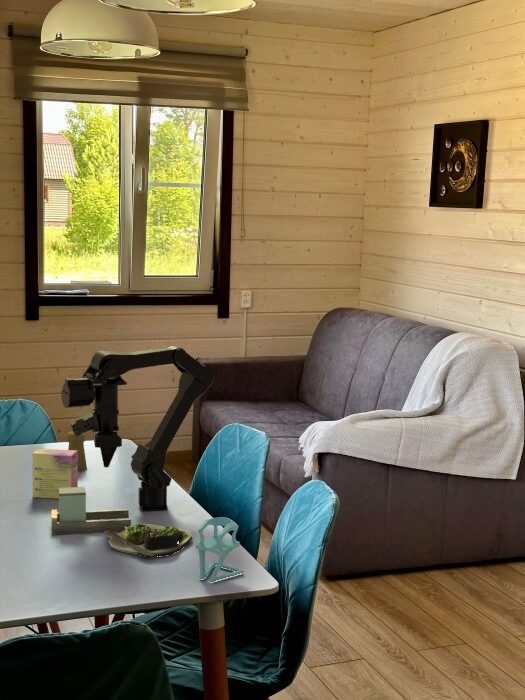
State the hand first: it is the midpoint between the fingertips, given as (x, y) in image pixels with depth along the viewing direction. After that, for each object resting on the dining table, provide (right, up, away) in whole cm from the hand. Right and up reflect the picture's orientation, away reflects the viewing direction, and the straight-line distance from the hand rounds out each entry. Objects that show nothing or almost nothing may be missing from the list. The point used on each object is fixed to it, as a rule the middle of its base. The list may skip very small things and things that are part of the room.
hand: (106, 466), depth 223 cm
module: (-7, -12, -8) cm, 16 cm away
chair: (+29, -18, -34) cm, 48 cm away
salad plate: (+13, -16, -17) cm, 27 cm away
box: (-16, -10, +15) cm, 24 cm away
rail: (-2, -13, -7) cm, 15 cm away
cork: (-15, -6, +40) cm, 43 cm away
